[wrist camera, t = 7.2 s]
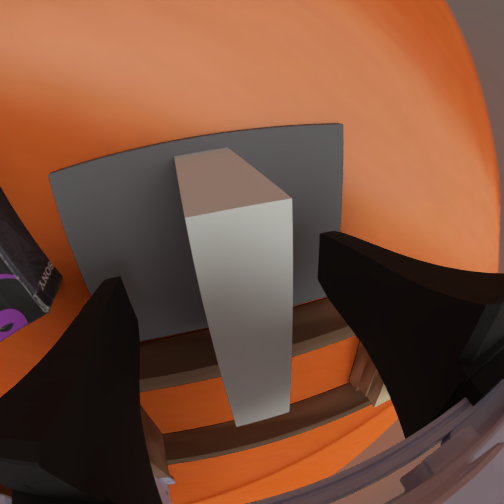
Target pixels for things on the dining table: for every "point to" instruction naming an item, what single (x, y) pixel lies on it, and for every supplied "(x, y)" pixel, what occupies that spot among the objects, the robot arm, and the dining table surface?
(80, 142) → the dining table surface
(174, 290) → the mat
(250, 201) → the light grey block
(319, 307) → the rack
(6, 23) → the dining table surface
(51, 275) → the box
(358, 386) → the offcuts
